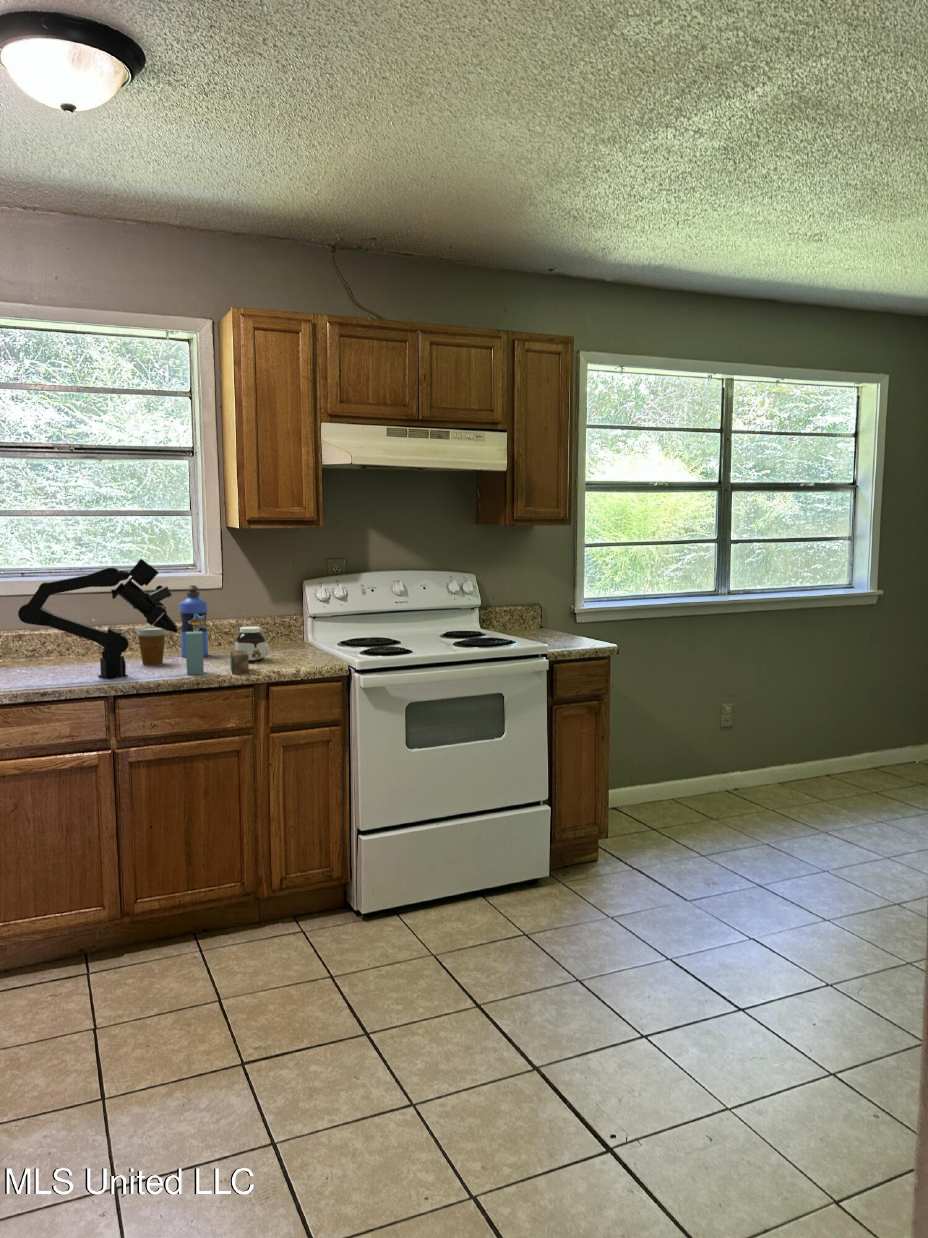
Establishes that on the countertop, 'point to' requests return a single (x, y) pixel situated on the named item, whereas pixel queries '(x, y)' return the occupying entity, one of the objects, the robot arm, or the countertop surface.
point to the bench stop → (239, 662)
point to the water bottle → (193, 618)
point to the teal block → (194, 652)
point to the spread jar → (252, 643)
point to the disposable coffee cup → (151, 644)
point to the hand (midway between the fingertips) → (176, 629)
